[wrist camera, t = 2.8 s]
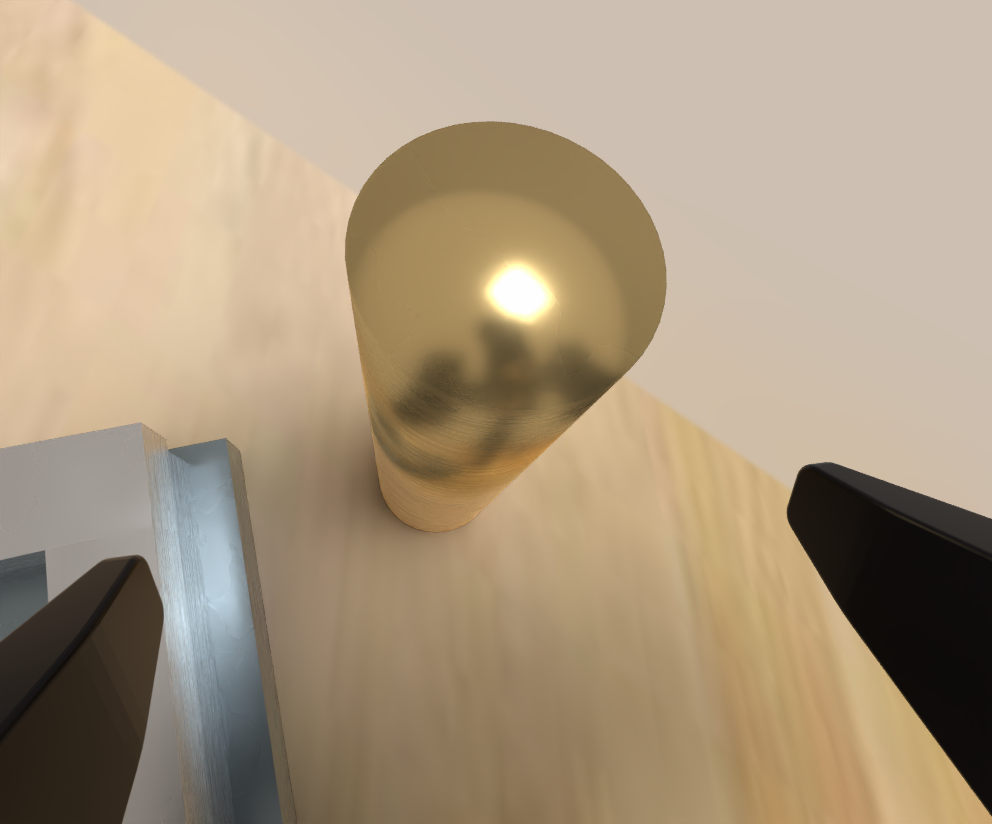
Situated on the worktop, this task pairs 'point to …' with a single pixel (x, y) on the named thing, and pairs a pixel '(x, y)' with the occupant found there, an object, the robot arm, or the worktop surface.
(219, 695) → the tiered gray console
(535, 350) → the pin
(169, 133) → the worktop surface
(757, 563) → the worktop surface
